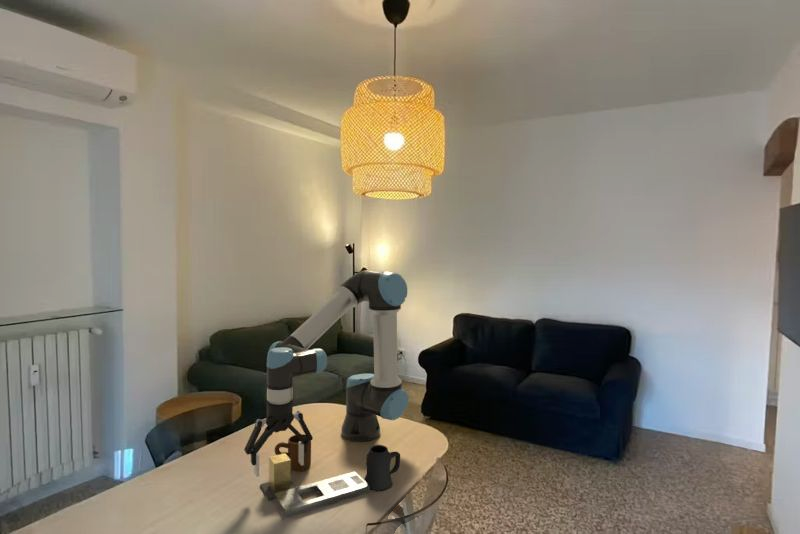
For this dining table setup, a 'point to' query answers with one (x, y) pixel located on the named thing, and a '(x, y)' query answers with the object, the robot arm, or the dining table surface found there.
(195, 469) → the dining table surface
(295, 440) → the mug
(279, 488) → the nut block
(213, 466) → the dining table surface
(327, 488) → the grey board with slots
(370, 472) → the mug
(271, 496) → the rubber mat
